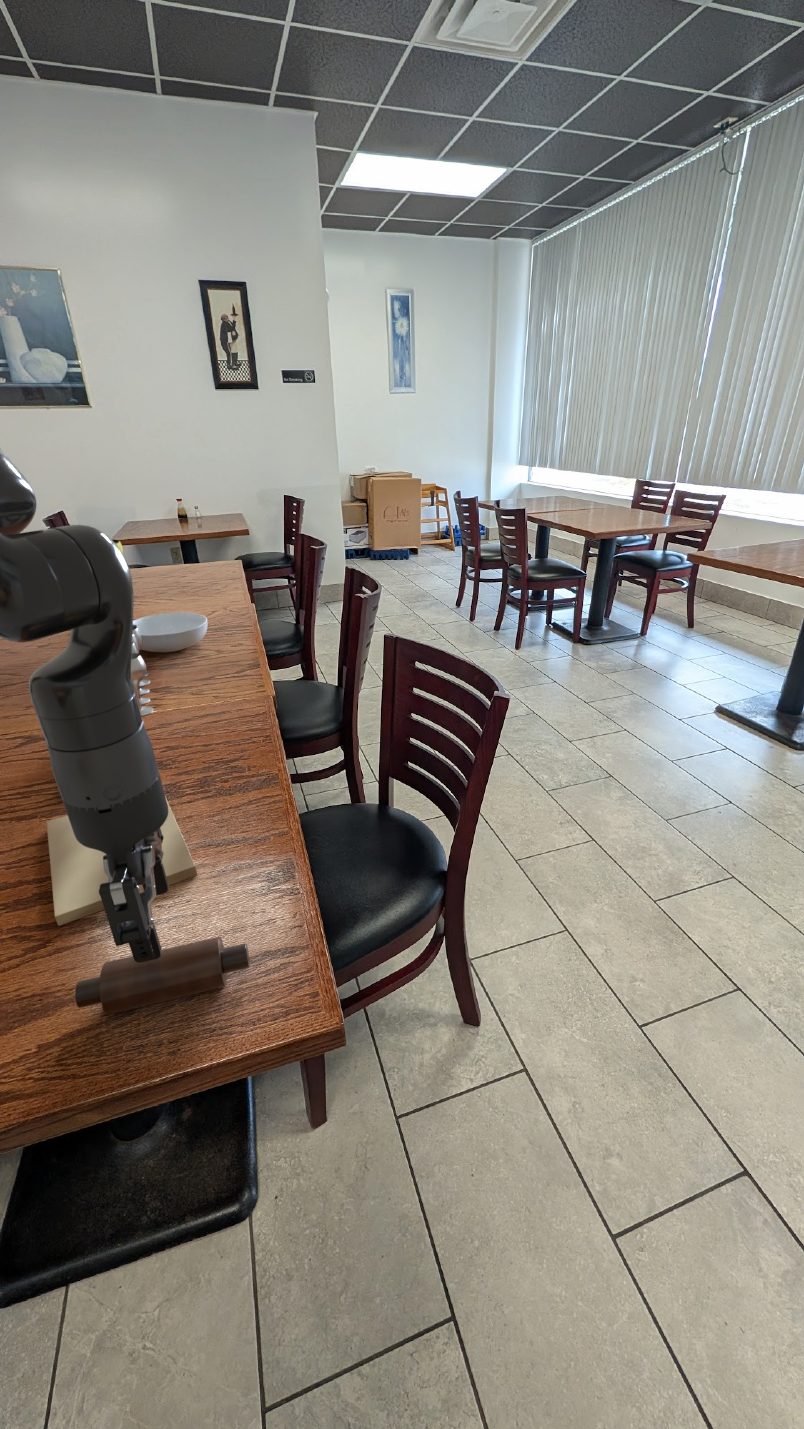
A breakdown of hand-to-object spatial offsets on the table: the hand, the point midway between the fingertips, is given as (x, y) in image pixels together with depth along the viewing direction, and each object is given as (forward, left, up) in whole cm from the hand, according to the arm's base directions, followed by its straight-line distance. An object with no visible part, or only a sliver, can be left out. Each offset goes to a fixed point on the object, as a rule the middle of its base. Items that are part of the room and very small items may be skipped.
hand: (153, 923), depth 56 cm
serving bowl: (-28, +112, -9) cm, 116 cm away
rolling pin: (0, 0, -9) cm, 9 cm away
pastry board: (-13, +24, -9) cm, 29 cm away
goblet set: (-27, +81, -9) cm, 86 cm away
